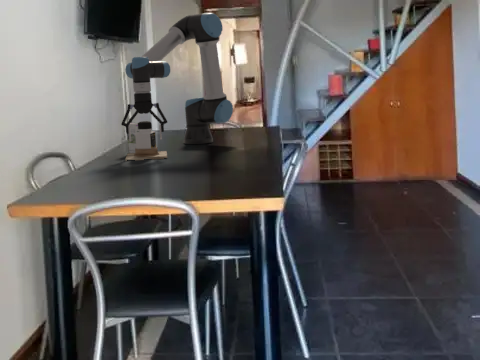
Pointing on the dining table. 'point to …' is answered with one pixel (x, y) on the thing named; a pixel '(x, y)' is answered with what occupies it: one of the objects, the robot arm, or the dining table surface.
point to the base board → (161, 156)
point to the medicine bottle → (145, 136)
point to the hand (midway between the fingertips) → (145, 140)
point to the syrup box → (132, 137)
